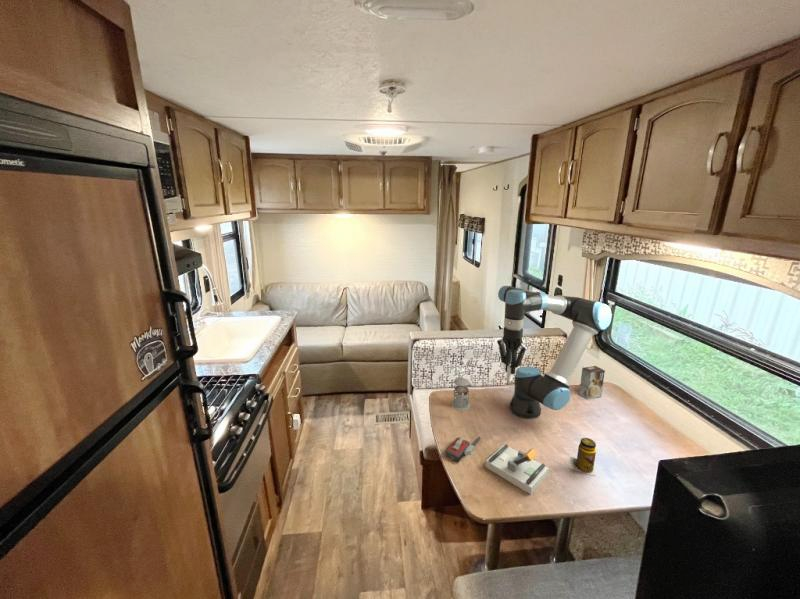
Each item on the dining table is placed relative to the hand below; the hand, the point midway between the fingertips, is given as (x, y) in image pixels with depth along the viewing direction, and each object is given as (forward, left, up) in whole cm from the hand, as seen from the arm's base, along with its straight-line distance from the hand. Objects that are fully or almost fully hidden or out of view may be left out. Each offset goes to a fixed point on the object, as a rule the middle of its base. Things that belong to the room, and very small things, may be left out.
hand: (509, 379), depth 145 cm
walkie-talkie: (+18, -9, -30) cm, 37 cm away
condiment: (-7, +30, -30) cm, 43 cm away
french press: (-9, -31, -30) cm, 44 cm away
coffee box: (-67, +13, -30) cm, 74 cm away
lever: (+14, +13, -25) cm, 31 cm away
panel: (+14, +13, -29) cm, 35 cm away
